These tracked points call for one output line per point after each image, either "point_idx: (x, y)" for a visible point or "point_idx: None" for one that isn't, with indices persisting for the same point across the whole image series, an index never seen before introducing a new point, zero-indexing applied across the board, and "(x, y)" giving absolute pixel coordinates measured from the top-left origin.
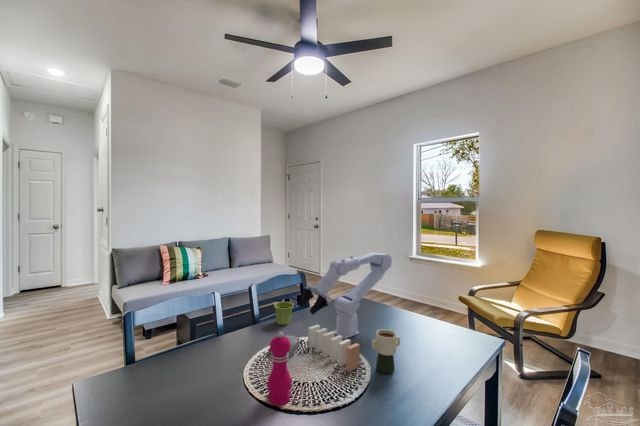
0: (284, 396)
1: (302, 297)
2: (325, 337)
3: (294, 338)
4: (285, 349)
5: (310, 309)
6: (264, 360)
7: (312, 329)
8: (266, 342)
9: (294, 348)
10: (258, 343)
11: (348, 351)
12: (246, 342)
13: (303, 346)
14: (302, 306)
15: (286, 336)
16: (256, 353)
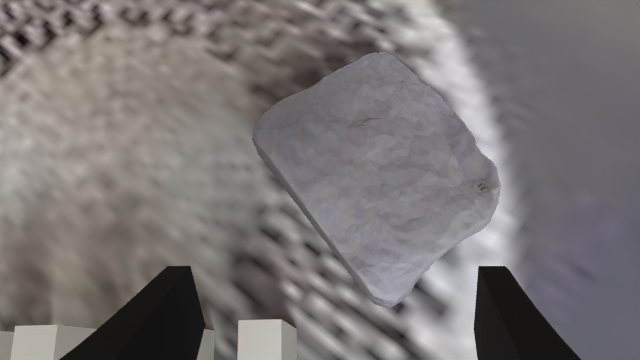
0: None
1: (541, 349)
2: (21, 329)
3: (379, 244)
4: None
5: (176, 278)
6: (333, 13)
7: (240, 345)
8: (544, 128)
9: (288, 188)
10: (559, 80)
11: None
12: (616, 28)
13: (329, 309)
14: (477, 347)
15: (447, 209)
16: (437, 14)
